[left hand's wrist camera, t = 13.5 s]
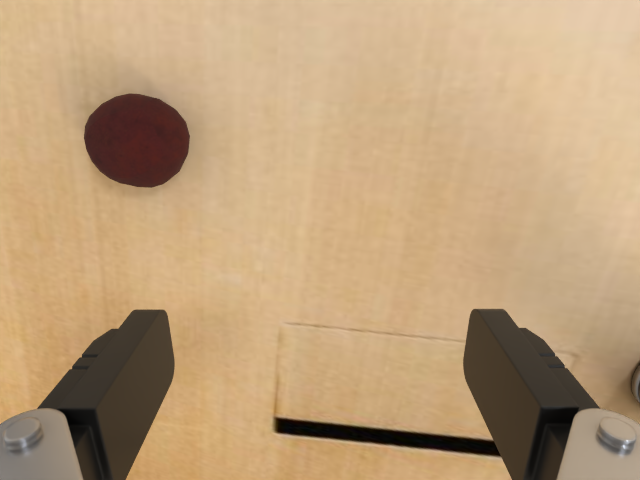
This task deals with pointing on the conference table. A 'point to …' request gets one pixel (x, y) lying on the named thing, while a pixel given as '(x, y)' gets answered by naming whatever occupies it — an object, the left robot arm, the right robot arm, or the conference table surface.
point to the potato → (137, 140)
